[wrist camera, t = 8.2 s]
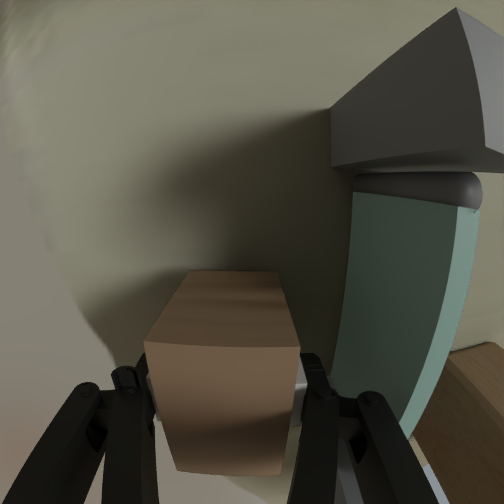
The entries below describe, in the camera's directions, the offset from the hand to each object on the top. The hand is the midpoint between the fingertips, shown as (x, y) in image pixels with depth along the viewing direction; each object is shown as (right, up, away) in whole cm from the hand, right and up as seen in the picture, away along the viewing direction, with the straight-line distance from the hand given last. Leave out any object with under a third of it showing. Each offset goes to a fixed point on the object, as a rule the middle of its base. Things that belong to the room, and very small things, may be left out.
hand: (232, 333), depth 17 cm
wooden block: (+23, -9, +5) cm, 25 cm away
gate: (+8, +3, +2) cm, 9 cm away
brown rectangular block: (0, 0, 0) cm, 0 cm away
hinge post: (+8, +12, 0) cm, 15 cm away
